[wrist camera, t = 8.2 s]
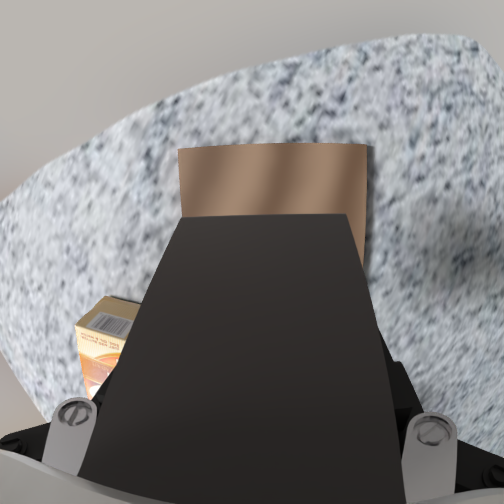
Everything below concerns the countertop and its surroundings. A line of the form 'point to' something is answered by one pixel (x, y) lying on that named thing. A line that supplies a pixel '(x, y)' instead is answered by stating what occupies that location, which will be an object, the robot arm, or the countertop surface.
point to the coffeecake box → (103, 339)
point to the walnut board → (276, 181)
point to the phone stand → (252, 373)
